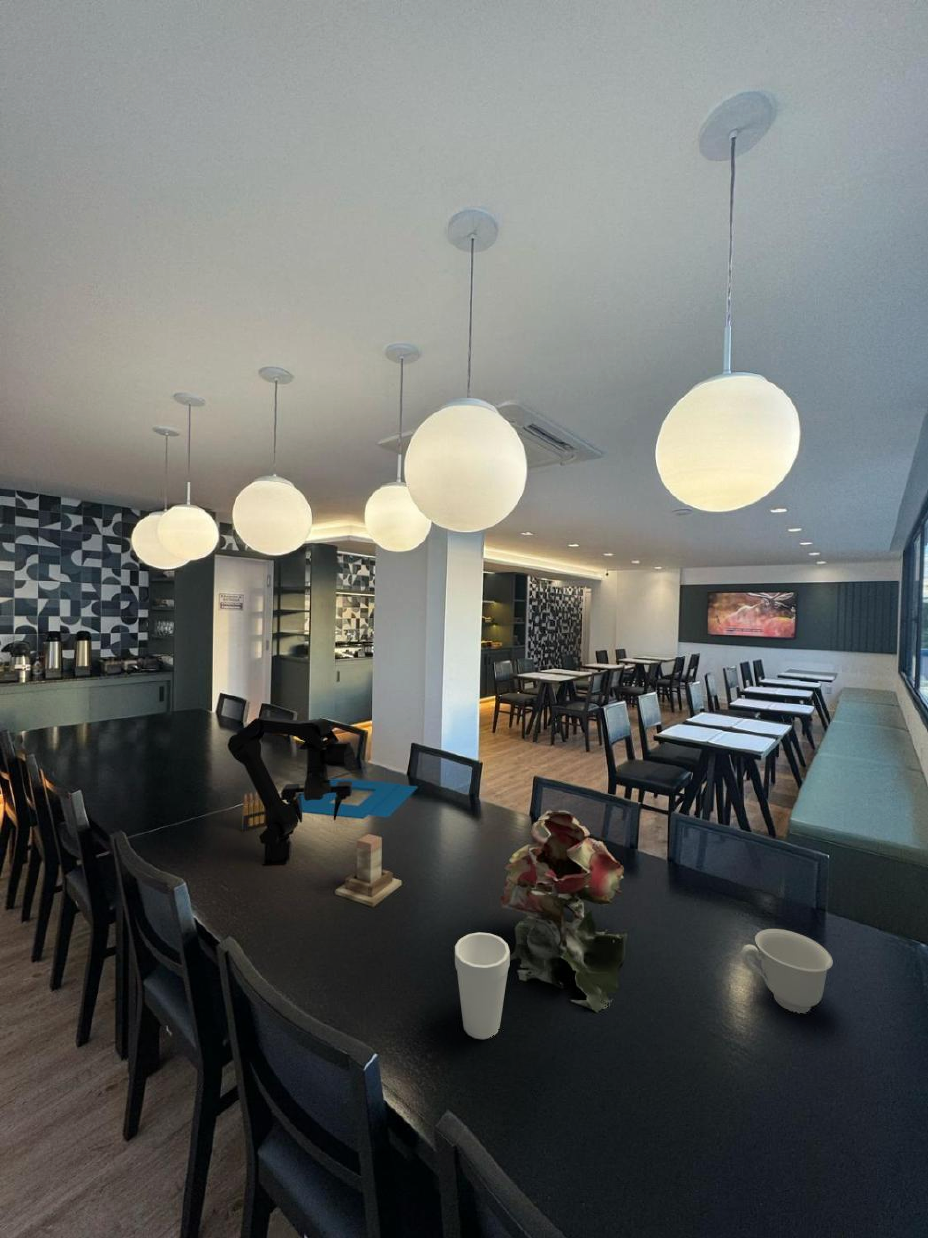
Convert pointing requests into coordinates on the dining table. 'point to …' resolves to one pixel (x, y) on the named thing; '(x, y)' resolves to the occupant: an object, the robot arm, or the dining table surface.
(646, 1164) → the dining table surface
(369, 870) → the birch post
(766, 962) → the teacup
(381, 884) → the socket stand
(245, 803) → the ammunition clip
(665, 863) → the dining table surface
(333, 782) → the frame
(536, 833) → the rose bouquet
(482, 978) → the foam cup
